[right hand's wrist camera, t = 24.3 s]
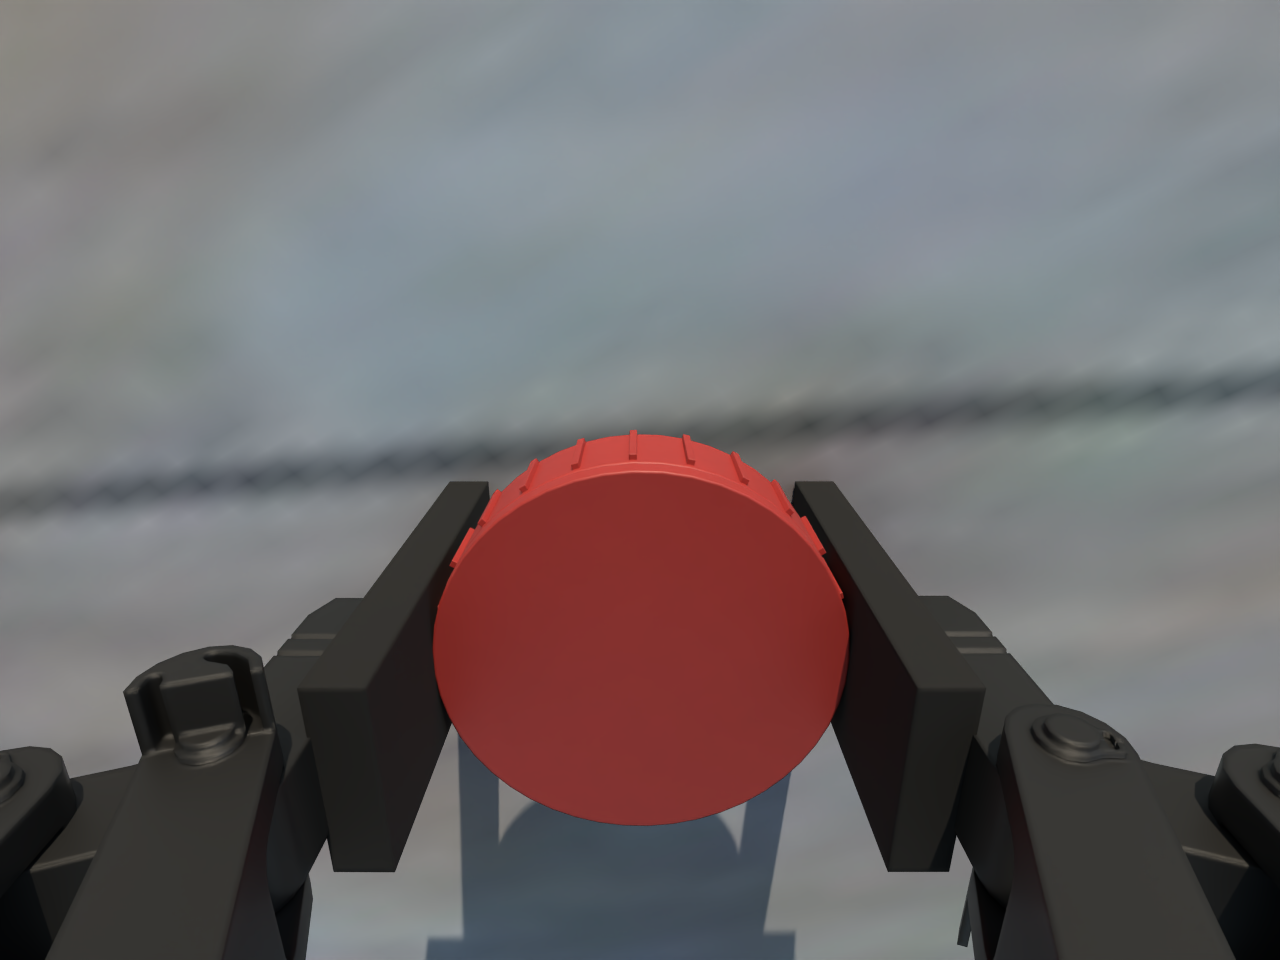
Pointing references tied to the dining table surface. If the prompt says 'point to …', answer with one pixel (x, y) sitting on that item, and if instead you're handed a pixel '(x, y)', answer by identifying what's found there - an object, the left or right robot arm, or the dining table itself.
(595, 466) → the lid
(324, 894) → the dining table surface
